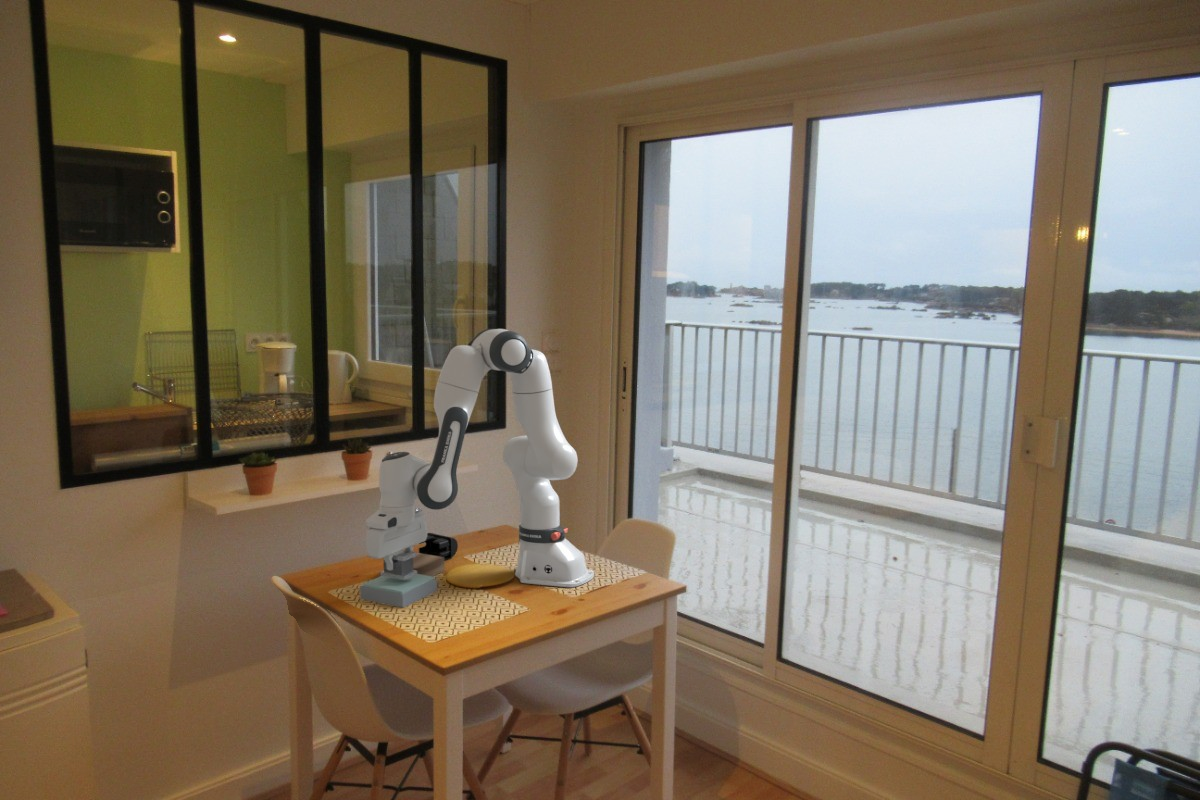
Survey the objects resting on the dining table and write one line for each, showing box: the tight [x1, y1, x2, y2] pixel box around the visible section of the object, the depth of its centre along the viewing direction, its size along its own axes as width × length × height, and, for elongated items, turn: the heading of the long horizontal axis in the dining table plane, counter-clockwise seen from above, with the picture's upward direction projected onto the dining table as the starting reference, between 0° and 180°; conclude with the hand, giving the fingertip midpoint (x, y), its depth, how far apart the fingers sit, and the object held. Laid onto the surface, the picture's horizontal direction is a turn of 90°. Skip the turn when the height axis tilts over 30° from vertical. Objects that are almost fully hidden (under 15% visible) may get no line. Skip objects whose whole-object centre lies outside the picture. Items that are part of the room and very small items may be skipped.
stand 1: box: [383, 552, 446, 577], centre depth 240 cm, size 12×12×4 cm
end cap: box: [418, 532, 459, 562], centre depth 256 cm, size 10×7×7 cm
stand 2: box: [359, 574, 438, 608], centre depth 223 cm, size 14×14×4 cm
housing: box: [379, 549, 418, 580], centre depth 222 cm, size 8×5×6 cm, turn 63°
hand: (398, 566), depth 222 cm, fingers closed on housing, 5 cm apart
